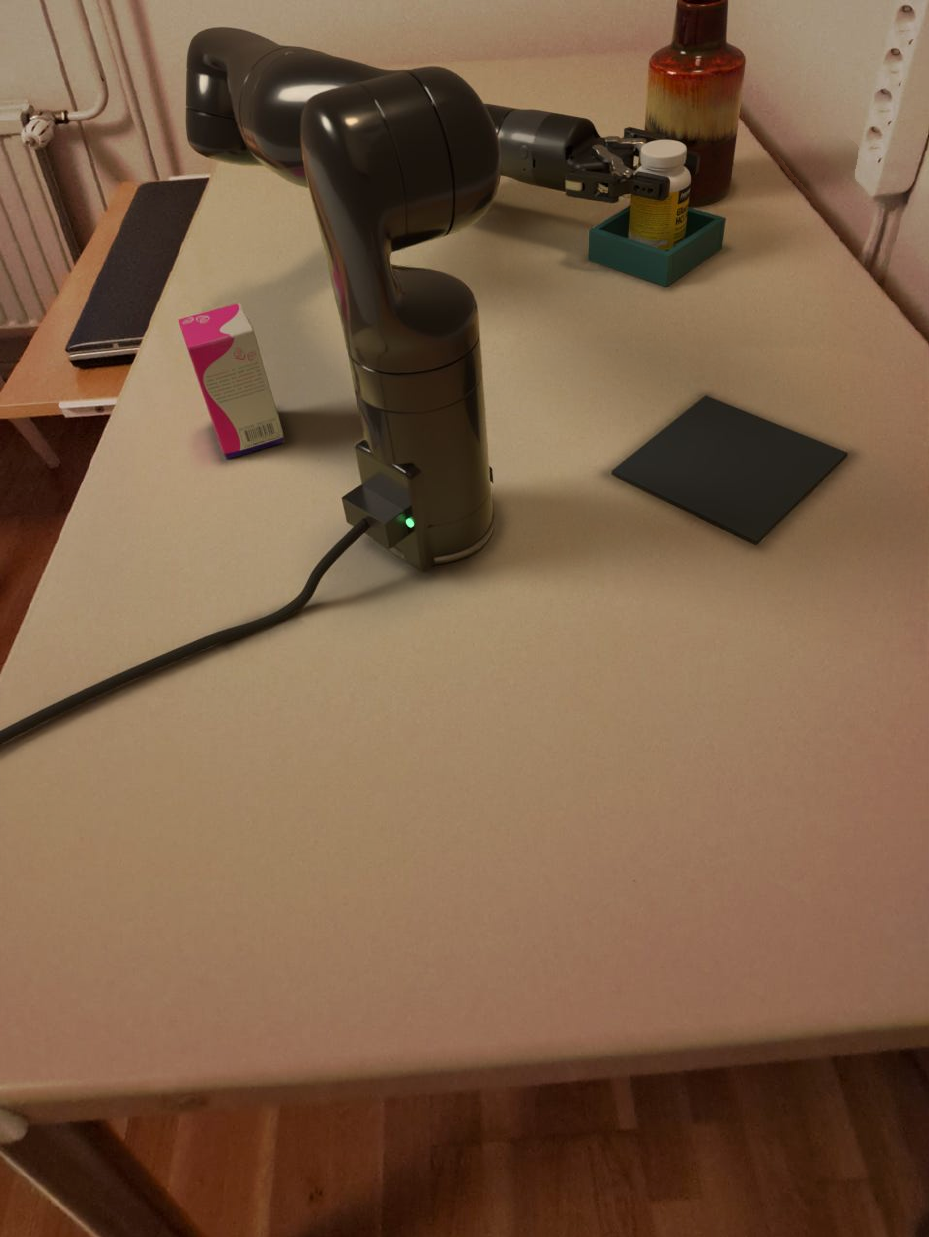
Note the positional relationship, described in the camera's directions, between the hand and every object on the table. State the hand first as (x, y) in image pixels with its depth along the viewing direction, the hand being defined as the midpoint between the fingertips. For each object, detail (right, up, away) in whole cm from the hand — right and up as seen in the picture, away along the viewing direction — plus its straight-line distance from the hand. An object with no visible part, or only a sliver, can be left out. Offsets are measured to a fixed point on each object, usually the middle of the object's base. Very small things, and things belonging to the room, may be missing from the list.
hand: (682, 177), depth 98 cm
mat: (0, -33, -18) cm, 38 cm away
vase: (+5, +7, +19) cm, 20 cm away
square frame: (-1, -5, +8) cm, 9 cm away
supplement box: (-43, -29, -10) cm, 53 cm away
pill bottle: (-1, -5, +7) cm, 9 cm away
